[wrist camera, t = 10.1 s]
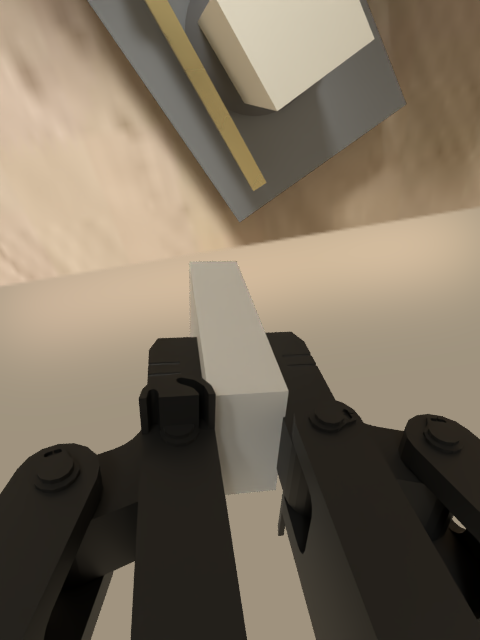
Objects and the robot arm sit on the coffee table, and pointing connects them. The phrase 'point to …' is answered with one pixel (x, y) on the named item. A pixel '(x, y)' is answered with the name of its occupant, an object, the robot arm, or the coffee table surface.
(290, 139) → the socket
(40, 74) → the coffee table surface
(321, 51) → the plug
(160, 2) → the tan long thin stick
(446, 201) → the coffee table surface
